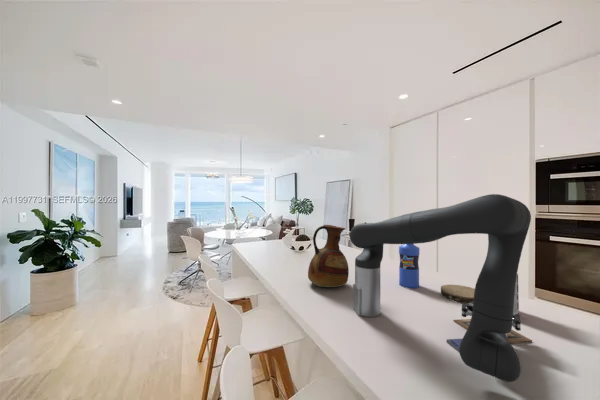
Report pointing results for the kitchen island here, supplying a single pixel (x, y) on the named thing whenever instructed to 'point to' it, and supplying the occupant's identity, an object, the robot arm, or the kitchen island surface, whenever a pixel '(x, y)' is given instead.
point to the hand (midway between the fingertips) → (489, 307)
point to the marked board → (512, 335)
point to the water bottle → (409, 266)
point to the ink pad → (454, 343)
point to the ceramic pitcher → (329, 260)
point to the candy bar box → (516, 299)
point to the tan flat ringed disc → (458, 293)
